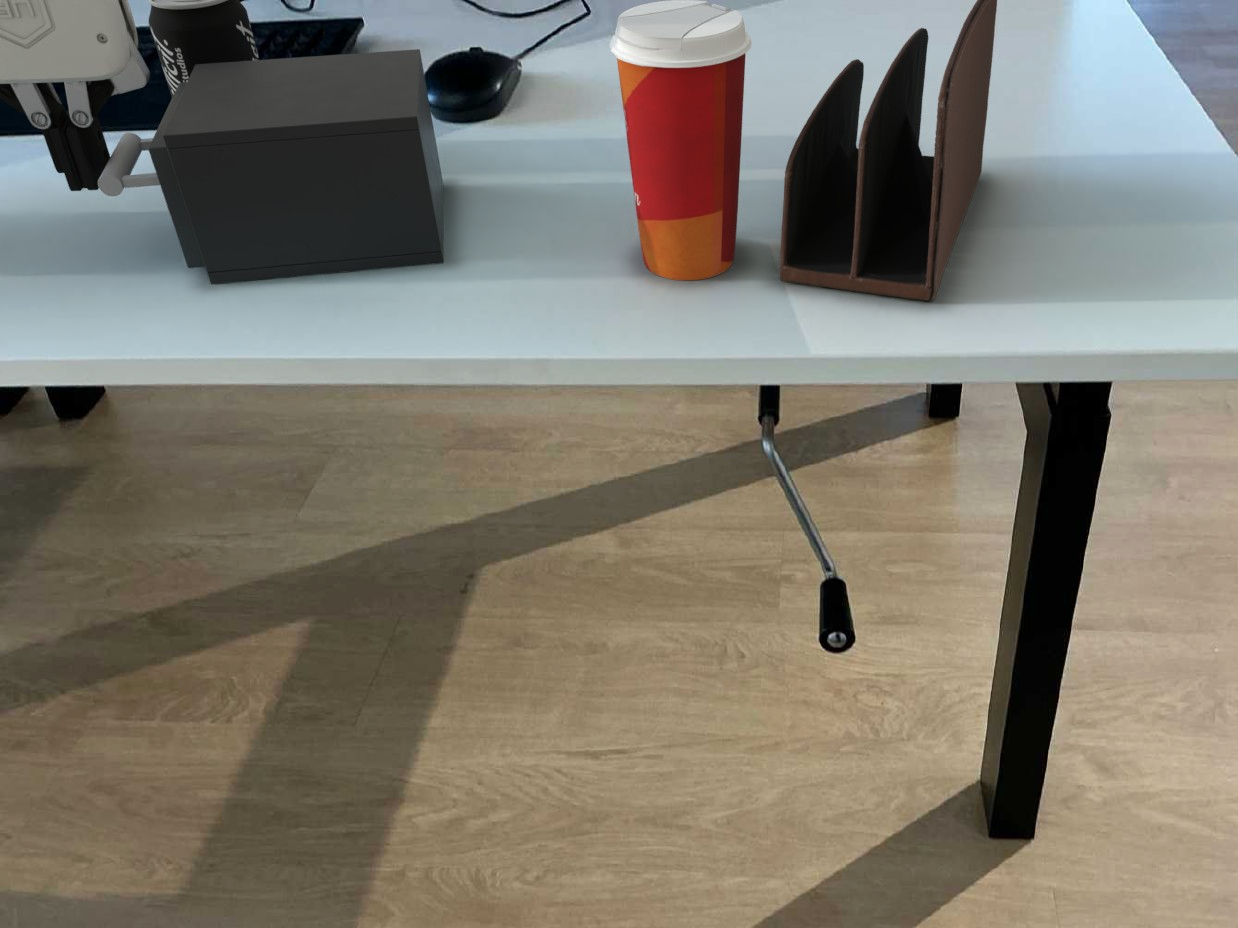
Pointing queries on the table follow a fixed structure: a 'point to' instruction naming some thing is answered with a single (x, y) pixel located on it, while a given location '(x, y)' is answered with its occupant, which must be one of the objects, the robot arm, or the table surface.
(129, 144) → the drawer
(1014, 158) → the table surface
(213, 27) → the beverage can
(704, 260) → the coffee cup
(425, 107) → the cabinet
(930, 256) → the letter holder
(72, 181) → the robot arm
